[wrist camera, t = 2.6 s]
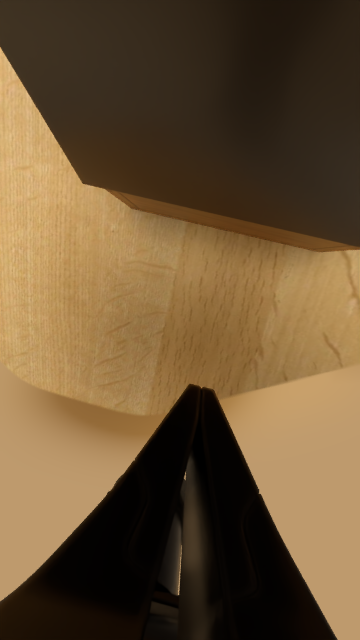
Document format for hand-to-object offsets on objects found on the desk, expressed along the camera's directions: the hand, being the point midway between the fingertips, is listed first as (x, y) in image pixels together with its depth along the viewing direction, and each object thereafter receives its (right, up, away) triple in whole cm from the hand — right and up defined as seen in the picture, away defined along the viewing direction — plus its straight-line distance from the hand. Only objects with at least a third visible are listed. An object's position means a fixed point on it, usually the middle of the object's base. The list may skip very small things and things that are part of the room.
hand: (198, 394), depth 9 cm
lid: (+2, +8, -5) cm, 10 cm away
